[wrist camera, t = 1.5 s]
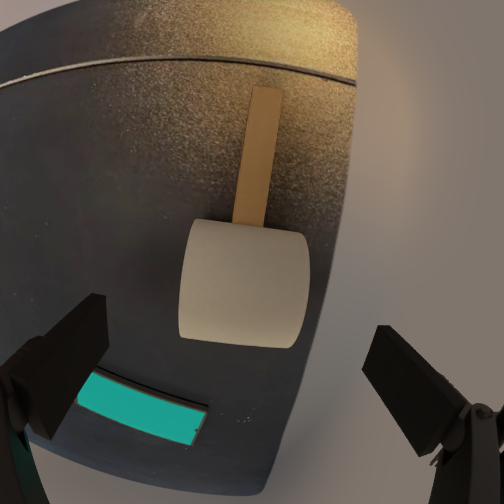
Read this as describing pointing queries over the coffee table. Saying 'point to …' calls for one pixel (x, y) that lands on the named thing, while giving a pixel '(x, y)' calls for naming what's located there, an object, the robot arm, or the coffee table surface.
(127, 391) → the smartphone
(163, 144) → the coffee table surface
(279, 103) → the mallet
